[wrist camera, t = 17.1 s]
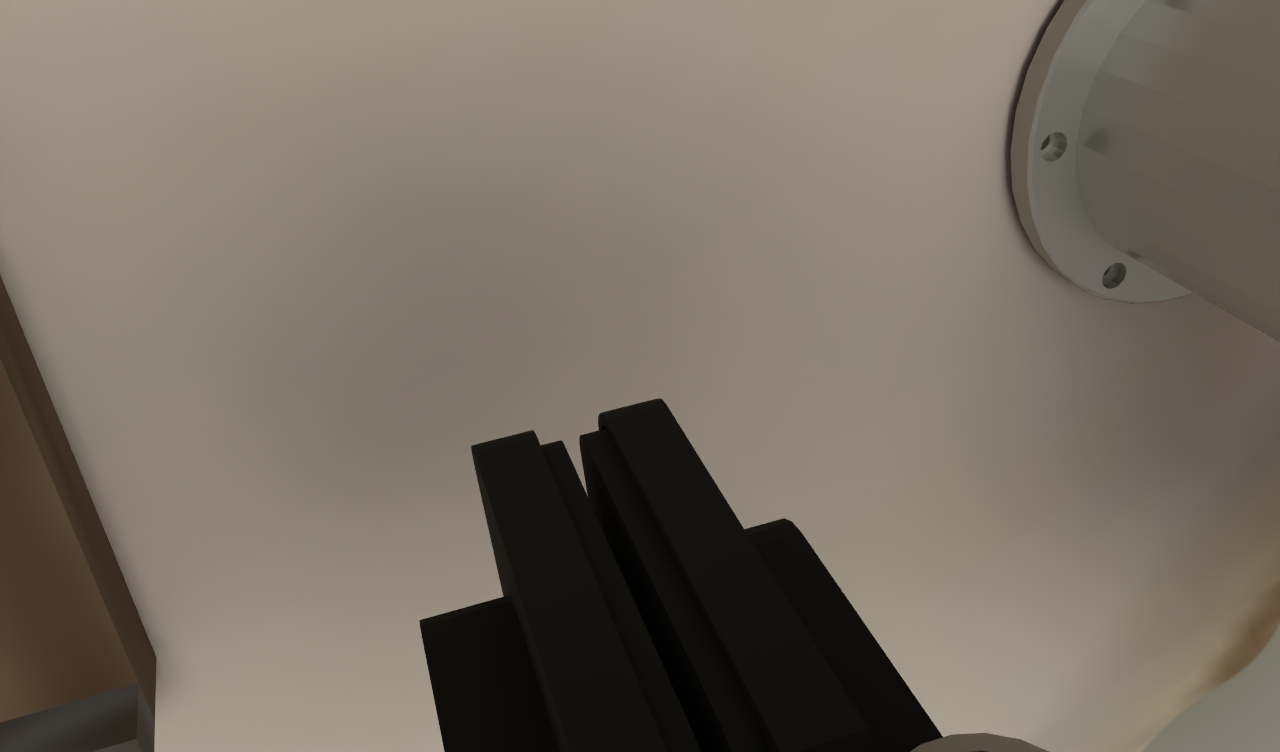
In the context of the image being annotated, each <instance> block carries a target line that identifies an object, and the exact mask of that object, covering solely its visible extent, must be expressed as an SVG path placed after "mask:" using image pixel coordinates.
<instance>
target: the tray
mask: <svg viewBox="0 0 1280 752" xmlns="http://www.w3.org/2000/svg"><path fill="white" fill-rule="evenodd" d="M155 690H156V656H155V654H154V651H153V649H152V647H151V644H150V642H149V639H148V637H147V634H146V632H145V629H144V627H143V625H142V622H141V620H140V617H139V615H138V612H137V610H136V607H135V605H134V602H133V600H132V598H131V595H130V593H129V590H128V588H127V585H126V583H125V580H124V578H123V576H122V573H121V571H120V568H119V566H118V563H117V561H116V558H115V556H114V554H113V551H112V549H111V546H110V544H109V541H108V539H107V536H106V534H105V531H104V529H103V527H102V524H101V522H100V519H99V517H98V514H97V512H96V509H95V507H94V505H93V502H92V500H91V497H90V495H89V492H88V490H87V487H86V485H85V483H84V480H83V478H82V475H81V473H80V470H79V468H78V465H77V463H76V461H75V458H74V456H73V453H72V451H71V448H70V446H69V443H68V441H67V438H66V436H65V434H64V431H63V429H62V426H61V424H60V421H59V419H58V416H57V414H56V412H55V409H54V407H53V404H52V402H51V399H50V397H49V394H48V392H47V390H46V387H45V385H44V382H43V380H42V377H41V375H40V372H39V370H38V368H37V365H36V363H35V360H34V358H33V355H32V353H31V350H30V348H29V345H28V343H27V341H26V338H25V336H24V333H23V331H22V328H21V326H20V323H19V321H18V319H17V316H16V314H15V311H14V309H13V306H12V304H11V301H10V299H9V297H8V294H7V292H6V289H5V287H4V284H3V282H2V279H1V277H0V752H154V734H155Z"/></svg>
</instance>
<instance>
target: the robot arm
mask: <svg viewBox="0 0 1280 752" xmlns="http://www.w3.org/2000/svg"><path fill="white" fill-rule="evenodd" d="M1010 154H1011V174H1012V191H1013V194H1014V198H1015V202H1016V206H1017V210H1018V214H1019V218H1020V222H1021V224H1022V226H1023V228H1024V230H1025V232H1026V234H1027V236H1028V237H1029V239H1030V241H1031V243H1032V245H1033V247H1034V249H1035V250H1036V251H1037V252H1038V253H1039V254H1040V256H1041V257H1042V258H1043V259H1044V260H1045V261H1046V262H1047V263H1048V264H1049V266H1050V267H1051V268H1052V269H1053V270H1054V271H1056V272H1058V273H1059V274H1061V275H1062V276H1064V277H1065V278H1067V279H1068V280H1069V281H1071V282H1072V283H1074V284H1075V285H1077V286H1078V287H1080V288H1081V289H1083V290H1085V291H1087V292H1089V293H1091V294H1094V295H1096V296H1098V297H1100V298H1103V299H1107V300H1113V301H1119V302H1125V303H1130V304H1140V303H1155V302H1165V301H1168V300H1172V299H1176V298H1180V297H1183V296H1187V295H1191V294H1194V293H1195V294H1197V295H1198V296H1200V297H1202V298H1204V299H1205V300H1207V301H1209V302H1211V303H1212V304H1214V305H1216V306H1218V307H1219V308H1221V309H1223V310H1225V311H1227V312H1228V313H1230V314H1232V315H1234V316H1235V317H1237V318H1239V319H1241V320H1242V321H1244V322H1246V323H1248V324H1249V325H1251V326H1253V327H1255V328H1256V329H1258V330H1260V331H1262V332H1263V333H1265V334H1267V335H1269V336H1270V337H1272V338H1274V339H1276V340H1277V341H1279V342H1280V0H1064V2H1063V3H1062V5H1061V6H1060V8H1059V10H1058V11H1057V13H1056V14H1055V16H1054V18H1053V19H1052V21H1051V22H1050V24H1049V25H1048V27H1047V29H1046V31H1045V33H1044V35H1043V37H1042V40H1041V42H1040V44H1039V46H1038V49H1037V51H1036V53H1035V55H1034V57H1033V60H1032V62H1031V64H1030V66H1029V69H1028V71H1027V74H1026V78H1025V81H1024V85H1023V88H1022V92H1021V95H1020V99H1019V102H1018V106H1017V109H1016V112H1015V120H1014V128H1013V136H1012V144H1011V152H1010ZM598 426H599V431H595V432H591V433H588V434H584V435H580V450H581V457H582V463H583V469H584V475H585V481H586V487H587V494H588V497H587V494H586V492H585V490H584V488H583V485H582V483H581V481H580V479H579V476H578V474H577V472H576V470H575V468H574V465H573V463H572V461H571V459H570V456H569V454H568V452H567V450H566V447H565V445H564V443H563V442H562V441H561V440H560V441H556V442H552V443H548V444H545V445H541V446H540V443H539V441H538V438H537V436H536V434H535V432H534V431H533V430H531V431H527V432H524V433H520V434H516V435H512V436H508V437H504V438H500V439H496V440H492V441H488V442H484V443H480V444H476V445H472V446H471V450H472V455H473V460H474V465H475V470H476V474H477V479H478V483H479V488H480V492H481V497H482V501H483V506H484V510H485V515H486V519H487V524H488V528H489V533H490V537H491V542H492V546H493V551H494V555H495V560H496V564H497V569H498V573H499V578H500V582H501V587H502V591H503V596H504V597H501V598H498V599H494V600H491V601H487V602H483V603H480V604H476V605H473V606H469V607H465V608H462V609H458V610H455V611H451V612H448V613H444V614H440V615H437V616H433V617H430V618H426V619H423V620H420V628H421V633H422V639H423V644H424V649H425V654H426V659H427V664H428V670H429V675H430V680H431V685H432V690H433V695H434V700H435V705H436V710H437V715H438V720H439V725H440V730H441V735H442V741H443V746H444V751H445V752H1048V751H1046V750H1044V749H1041V748H1039V747H1037V746H1034V745H1032V744H1030V743H1027V742H1025V741H1023V740H1020V739H1015V738H1010V737H1004V736H999V735H993V734H988V733H976V734H956V735H949V736H946V737H943V736H942V735H941V734H940V732H939V731H938V729H937V728H936V726H935V725H934V723H933V722H932V721H931V719H930V718H929V716H928V715H927V713H926V712H925V710H924V709H923V708H922V706H921V705H920V703H919V702H918V700H917V699H916V697H915V696H914V695H913V693H912V692H911V690H910V689H909V687H908V686H907V684H906V683H905V682H904V680H903V679H902V677H901V676H900V674H899V673H898V671H897V670H896V669H895V667H894V666H893V664H892V663H891V661H890V660H889V658H888V657H887V656H886V654H885V653H884V651H883V650H882V648H881V647H880V645H879V644H878V643H877V641H876V640H875V638H874V637H873V635H872V634H871V632H870V631H869V630H868V628H867V627H866V625H865V624H864V622H863V621H862V619H861V618H860V617H859V615H858V614H857V612H856V611H855V609H854V608H853V606H852V605H851V604H850V602H849V601H848V599H847V598H846V596H845V595H844V593H843V592H842V591H841V589H840V588H839V586H838V585H837V583H836V582H835V580H834V579H833V578H832V576H831V575H830V573H829V572H828V570H827V569H826V567H825V566H824V565H823V563H822V562H821V560H820V559H819V557H818V556H817V554H816V553H815V552H814V550H813V549H812V547H811V546H810V544H809V543H808V541H807V540H806V539H805V537H804V536H803V534H802V533H801V532H800V530H799V529H798V528H797V527H796V526H795V525H794V524H793V522H791V521H789V520H787V519H785V518H784V519H780V520H777V521H773V522H769V523H766V524H762V525H759V526H755V527H751V528H748V529H744V528H743V527H742V525H741V524H740V522H739V520H738V519H737V517H736V516H735V514H734V512H733V511H732V509H731V507H730V506H729V504H728V503H727V501H726V499H725V498H724V496H723V495H722V493H721V491H720V490H719V488H718V487H717V485H716V483H715V482H714V480H713V479H712V477H711V475H710V474H709V472H708V471H707V469H706V467H705V466H704V464H703V463H702V461H701V459H700V458H699V456H698V455H697V453H696V451H695V450H694V448H693V447H692V445H691V443H690V442H689V440H688V439H687V437H686V435H685V434H684V432H683V431H682V429H681V427H680V426H679V424H678V423H677V421H676V419H675V418H674V416H673V415H672V413H671V411H670V410H669V408H668V407H667V405H666V404H665V402H664V401H663V400H662V399H659V398H658V399H654V400H650V401H646V402H642V403H638V404H634V405H630V406H626V407H622V408H618V409H615V410H611V411H607V412H603V413H600V414H599V417H598Z"/></svg>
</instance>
